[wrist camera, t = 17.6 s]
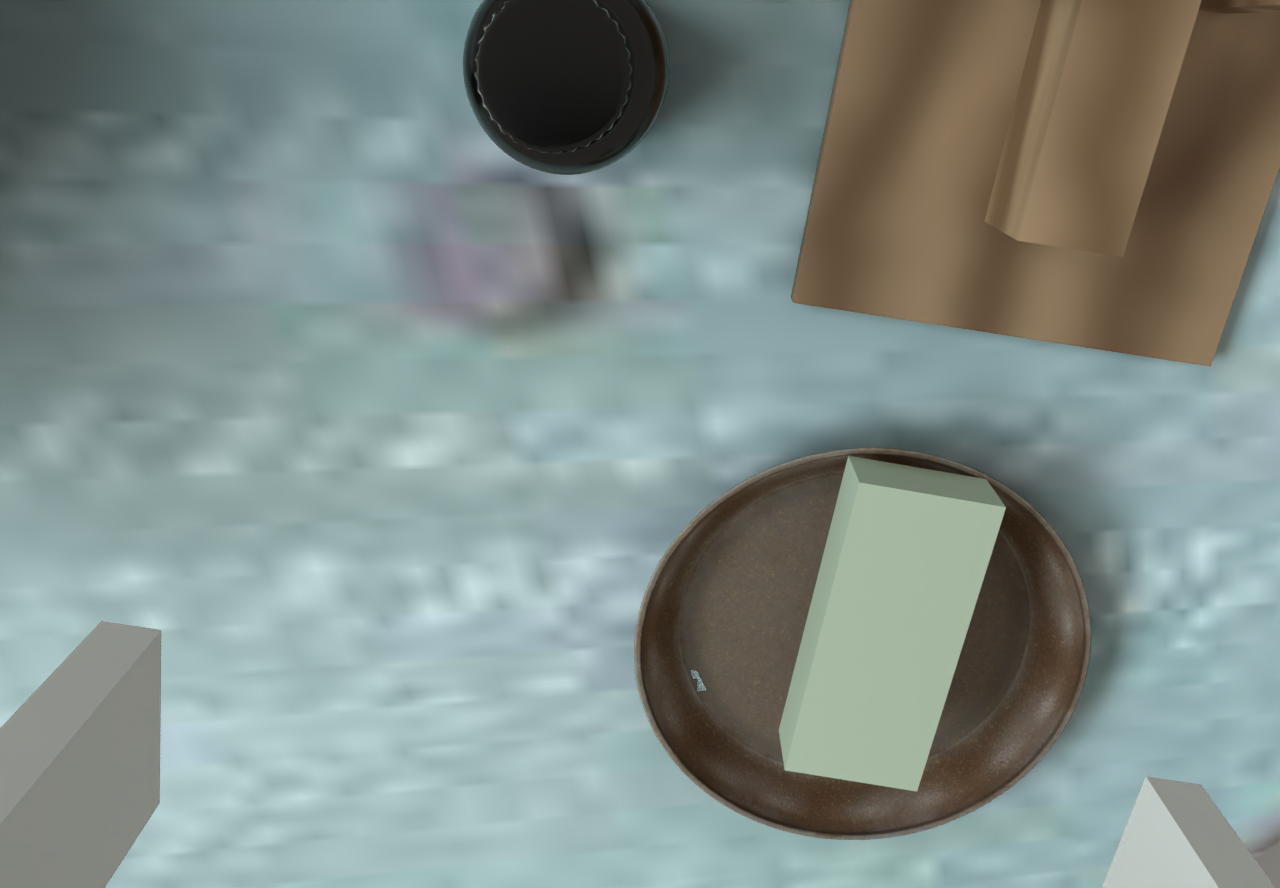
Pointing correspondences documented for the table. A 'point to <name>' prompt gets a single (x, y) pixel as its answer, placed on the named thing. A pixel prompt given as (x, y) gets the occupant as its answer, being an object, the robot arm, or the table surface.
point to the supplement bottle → (566, 79)
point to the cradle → (1047, 168)
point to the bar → (887, 621)
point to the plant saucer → (771, 636)
